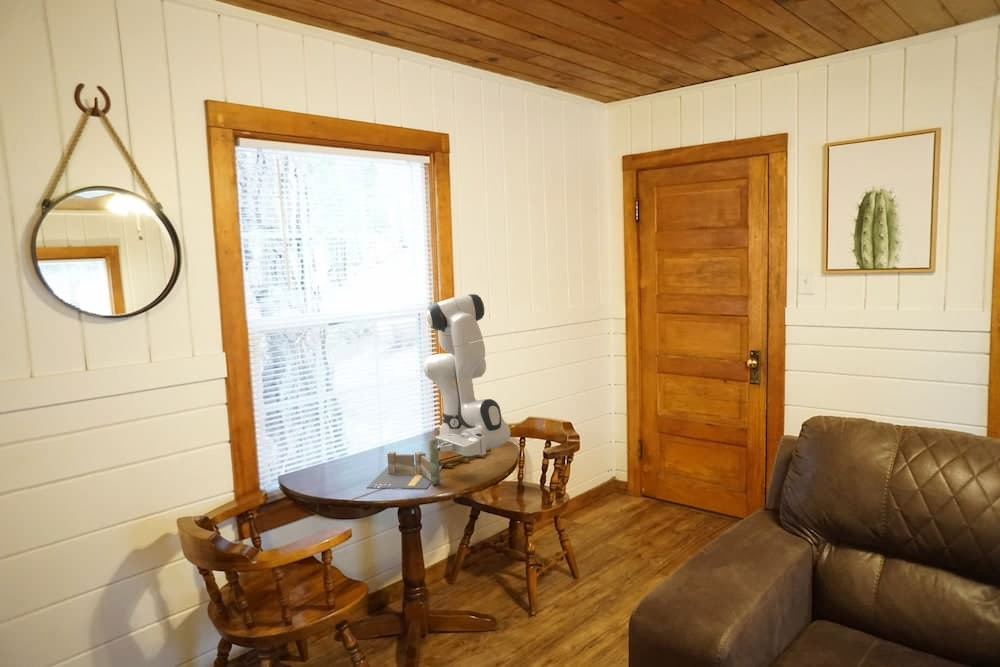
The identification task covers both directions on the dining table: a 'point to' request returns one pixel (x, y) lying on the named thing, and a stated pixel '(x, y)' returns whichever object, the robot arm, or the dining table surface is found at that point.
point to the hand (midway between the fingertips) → (438, 448)
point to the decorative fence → (457, 459)
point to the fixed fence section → (400, 463)
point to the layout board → (402, 480)
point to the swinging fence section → (429, 462)
